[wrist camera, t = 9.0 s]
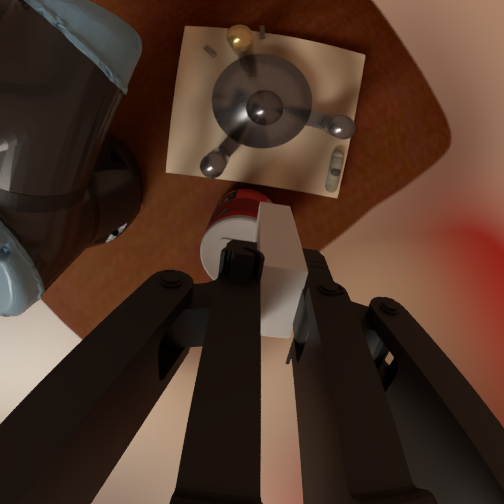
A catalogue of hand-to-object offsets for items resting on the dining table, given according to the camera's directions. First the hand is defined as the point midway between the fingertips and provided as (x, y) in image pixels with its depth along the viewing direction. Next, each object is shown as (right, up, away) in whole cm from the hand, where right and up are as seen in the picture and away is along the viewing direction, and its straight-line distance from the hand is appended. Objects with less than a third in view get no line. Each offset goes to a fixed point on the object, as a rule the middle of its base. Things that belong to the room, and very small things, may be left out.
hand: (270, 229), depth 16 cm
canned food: (-2, +3, +24) cm, 24 cm away
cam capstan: (0, +16, +15) cm, 22 cm away
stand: (0, +15, +18) cm, 23 cm away
